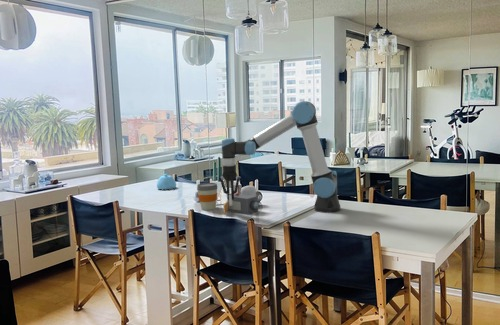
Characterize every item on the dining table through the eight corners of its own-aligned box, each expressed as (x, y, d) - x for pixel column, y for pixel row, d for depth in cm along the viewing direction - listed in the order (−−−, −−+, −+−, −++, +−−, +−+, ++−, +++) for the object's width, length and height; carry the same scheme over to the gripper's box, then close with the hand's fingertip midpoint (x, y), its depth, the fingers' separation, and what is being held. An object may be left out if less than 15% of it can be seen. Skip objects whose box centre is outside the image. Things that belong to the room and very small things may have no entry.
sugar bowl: (170, 186, 379) (169, 172, 378) (180, 188, 368) (179, 173, 366) (153, 188, 370) (152, 174, 368) (163, 191, 358) (162, 176, 357)
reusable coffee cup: (221, 206, 297) (220, 182, 295) (214, 210, 285) (213, 186, 283) (202, 205, 300) (201, 182, 298) (195, 210, 288) (193, 186, 286)
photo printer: (253, 203, 301) (252, 184, 299) (257, 204, 297) (256, 185, 296) (240, 205, 295) (239, 186, 294) (243, 207, 292) (242, 187, 290)
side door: (225, 214, 271) (225, 204, 271) (223, 214, 272) (223, 204, 271) (229, 209, 282) (228, 200, 281) (227, 209, 282) (227, 200, 281)
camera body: (261, 211, 278) (260, 194, 277) (251, 214, 271) (250, 197, 270) (237, 207, 290) (237, 192, 289) (227, 211, 283) (227, 194, 282)
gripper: (241, 164, 275) (242, 203, 278) (219, 164, 276) (221, 203, 280) (239, 165, 267) (241, 206, 270) (216, 166, 269) (218, 206, 272)
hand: (231, 205), depth 275 cm, fingers closed
